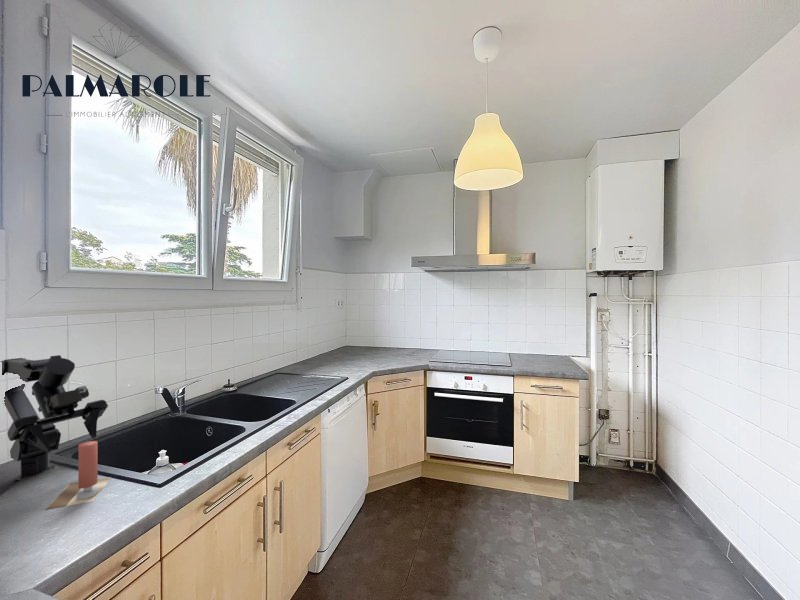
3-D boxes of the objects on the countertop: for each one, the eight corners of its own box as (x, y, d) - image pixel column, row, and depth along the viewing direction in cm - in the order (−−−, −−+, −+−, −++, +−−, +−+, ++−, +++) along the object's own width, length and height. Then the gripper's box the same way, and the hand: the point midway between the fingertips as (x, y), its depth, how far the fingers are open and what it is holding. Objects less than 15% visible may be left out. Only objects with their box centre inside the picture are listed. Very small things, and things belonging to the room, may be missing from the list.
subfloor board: (69, 487, 92) (69, 483, 92) (111, 481, 95) (111, 476, 95) (44, 514, 81) (44, 509, 81) (93, 505, 84) (93, 500, 84)
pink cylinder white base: (81, 492, 87) (81, 442, 87) (101, 489, 89) (101, 439, 89) (74, 501, 84) (74, 448, 84) (94, 497, 85) (94, 446, 85)
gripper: (12, 387, 82) (34, 440, 78) (104, 371, 99) (126, 415, 95) (-2, 414, 86) (18, 467, 81) (89, 395, 103) (110, 437, 98)
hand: (73, 444), depth 89 cm, fingers open, 9 cm apart
